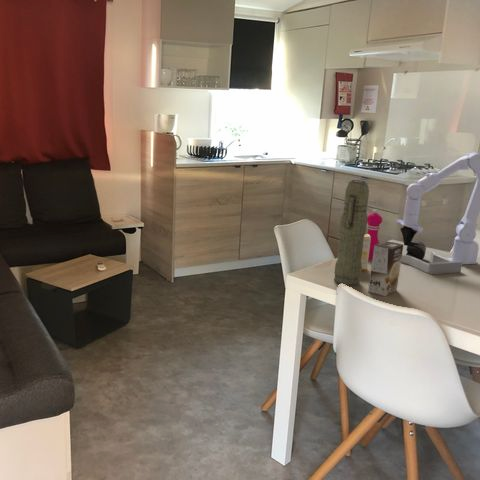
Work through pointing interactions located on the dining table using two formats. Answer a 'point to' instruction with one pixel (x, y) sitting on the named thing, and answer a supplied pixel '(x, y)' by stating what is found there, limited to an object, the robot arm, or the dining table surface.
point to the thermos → (352, 233)
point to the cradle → (433, 264)
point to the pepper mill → (373, 230)
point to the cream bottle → (365, 251)
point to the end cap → (416, 250)
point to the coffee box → (385, 268)
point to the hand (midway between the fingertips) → (406, 245)
